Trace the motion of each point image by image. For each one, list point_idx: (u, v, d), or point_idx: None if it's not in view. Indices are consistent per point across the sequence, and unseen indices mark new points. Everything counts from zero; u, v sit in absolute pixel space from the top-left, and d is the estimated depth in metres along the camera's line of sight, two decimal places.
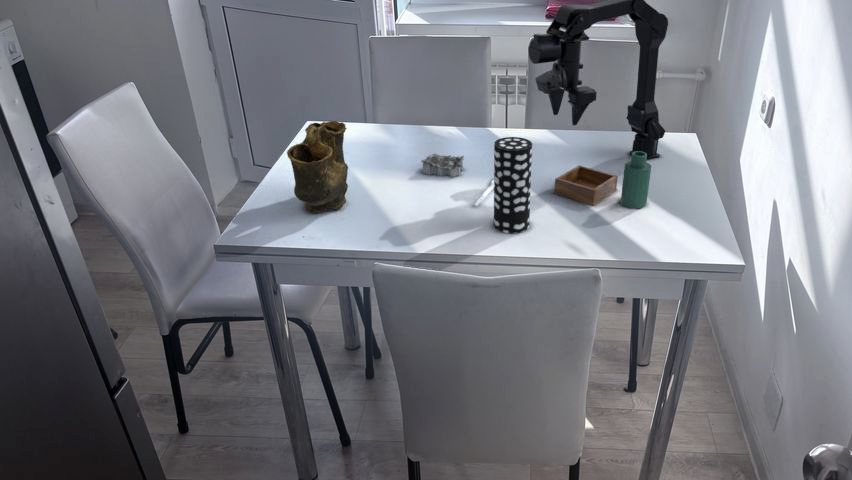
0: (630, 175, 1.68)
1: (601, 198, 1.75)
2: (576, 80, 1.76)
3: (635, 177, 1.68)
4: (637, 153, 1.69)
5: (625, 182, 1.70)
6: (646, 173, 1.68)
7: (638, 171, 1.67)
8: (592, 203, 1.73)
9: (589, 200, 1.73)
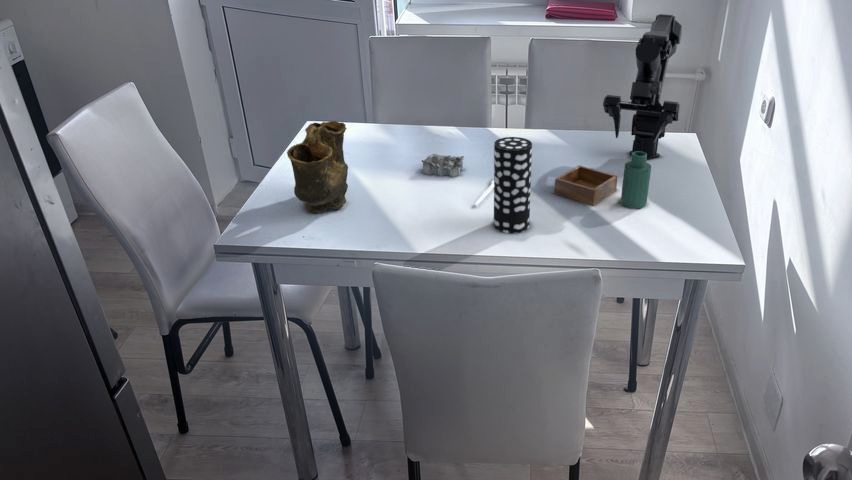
0: (630, 175, 1.68)
1: (601, 198, 1.75)
2: None
3: (635, 177, 1.68)
4: (637, 153, 1.69)
5: (625, 182, 1.70)
6: (646, 173, 1.68)
7: (638, 171, 1.67)
8: (592, 203, 1.73)
9: (589, 200, 1.73)
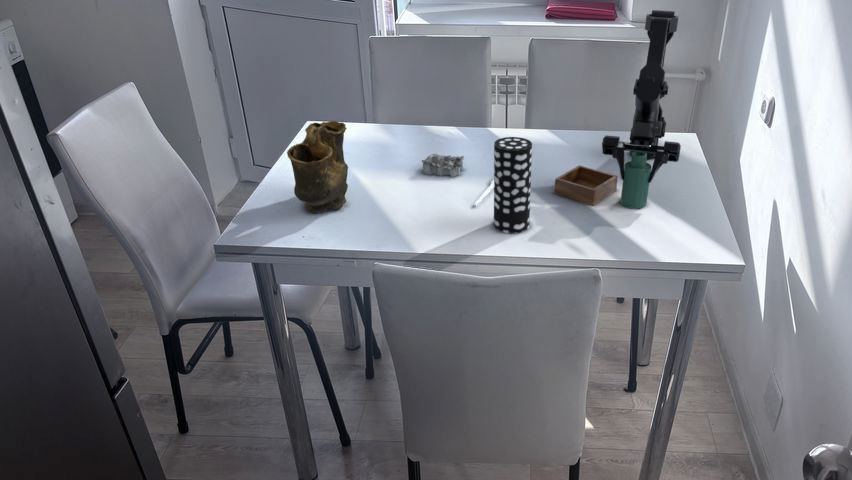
0: (631, 175, 1.68)
1: (601, 198, 1.75)
2: None
3: (635, 177, 1.68)
4: (637, 153, 1.69)
5: (625, 182, 1.70)
6: (646, 173, 1.68)
7: (638, 171, 1.67)
8: (592, 203, 1.73)
9: (589, 200, 1.73)
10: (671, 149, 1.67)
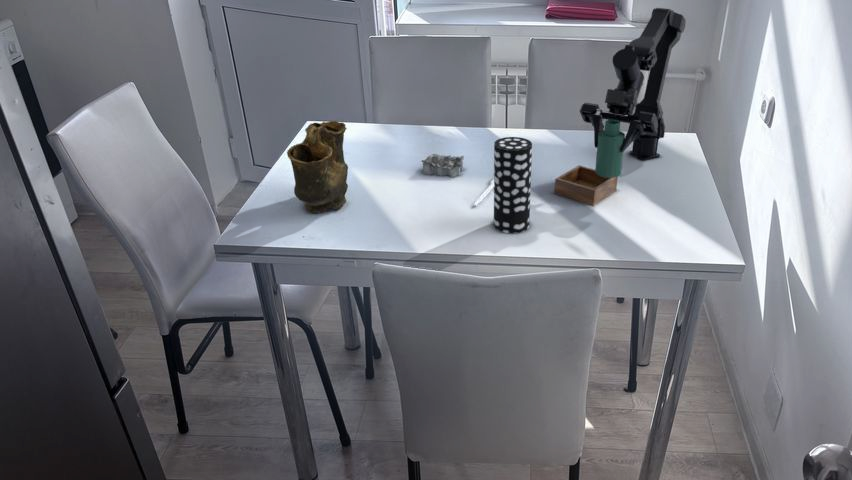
0: (602, 143, 1.68)
1: (601, 198, 1.75)
2: (632, 113, 1.71)
3: (606, 145, 1.67)
4: (612, 121, 1.68)
5: (597, 150, 1.70)
6: (617, 142, 1.67)
7: (608, 139, 1.66)
8: (592, 203, 1.73)
9: (589, 200, 1.73)
10: (645, 119, 1.65)
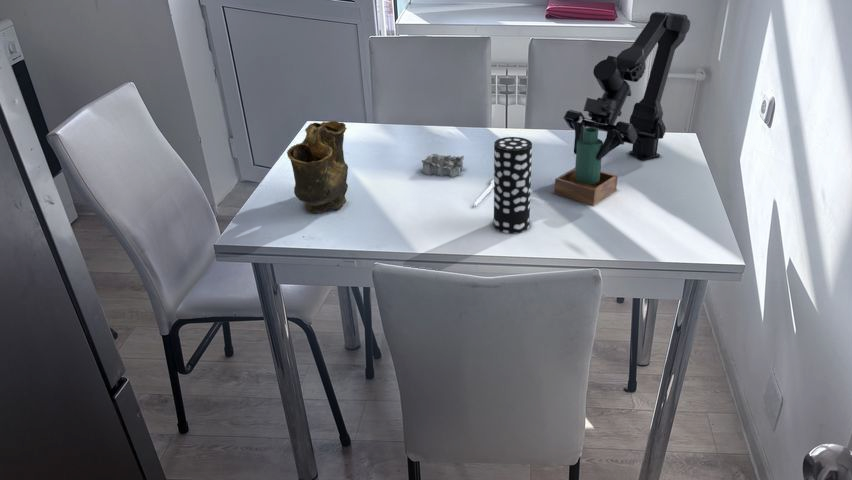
0: (579, 149, 1.73)
1: (601, 198, 1.75)
2: (614, 122, 1.75)
3: (582, 152, 1.72)
4: (591, 129, 1.73)
5: (576, 156, 1.75)
6: (593, 149, 1.71)
7: (584, 146, 1.71)
8: (592, 203, 1.73)
9: (589, 200, 1.73)
10: (621, 129, 1.68)
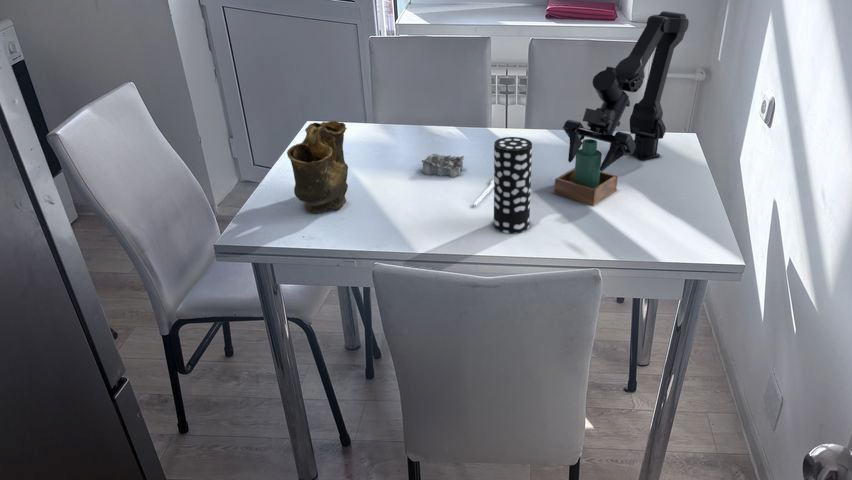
0: (578, 160, 1.74)
1: (601, 198, 1.75)
2: (613, 132, 1.76)
3: (581, 163, 1.73)
4: (590, 141, 1.74)
5: (575, 167, 1.76)
6: (592, 161, 1.72)
7: (583, 157, 1.72)
8: (592, 203, 1.73)
9: (589, 200, 1.73)
10: (620, 139, 1.70)
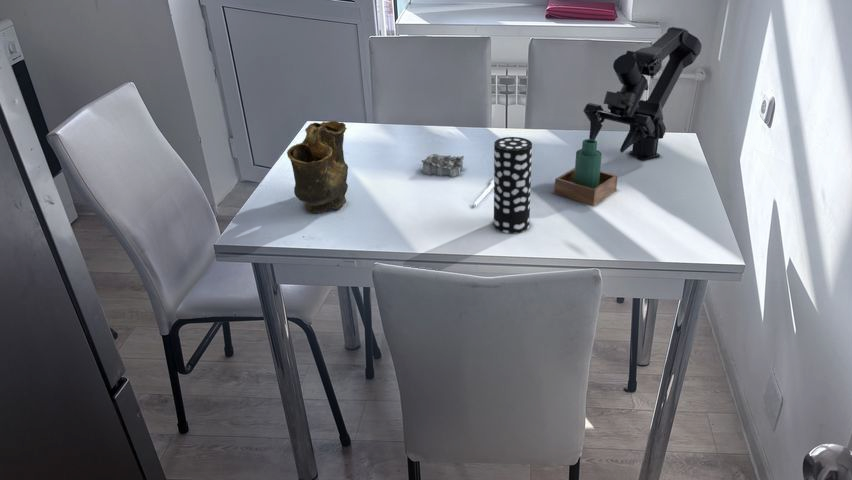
0: (578, 160, 1.74)
1: (601, 198, 1.75)
2: (632, 115, 1.82)
3: (581, 163, 1.73)
4: (590, 141, 1.74)
5: (575, 167, 1.76)
6: (592, 161, 1.72)
7: (583, 157, 1.72)
8: (592, 203, 1.73)
9: (589, 200, 1.73)
10: (639, 121, 1.75)
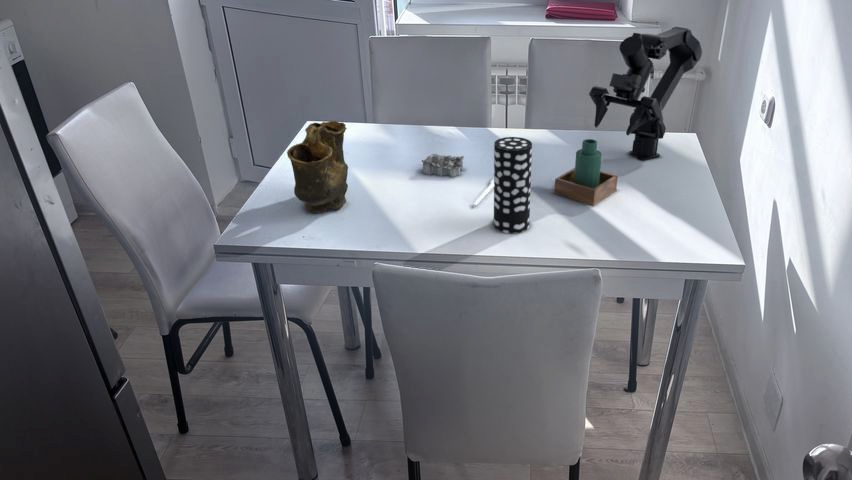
0: (578, 160, 1.74)
1: (601, 198, 1.75)
2: (638, 98, 1.81)
3: (581, 163, 1.73)
4: (590, 141, 1.74)
5: (575, 167, 1.76)
6: (592, 161, 1.72)
7: (583, 157, 1.72)
8: (592, 203, 1.73)
9: (589, 200, 1.73)
10: (646, 103, 1.75)
